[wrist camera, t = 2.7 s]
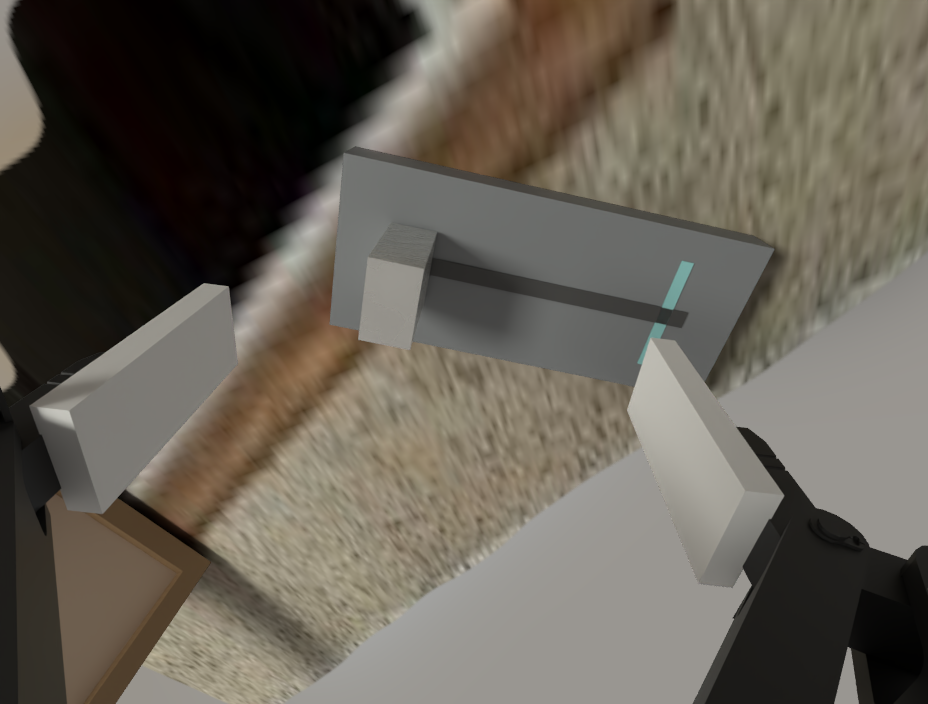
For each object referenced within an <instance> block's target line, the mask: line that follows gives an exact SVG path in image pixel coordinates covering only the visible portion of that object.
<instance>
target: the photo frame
mask: <svg viewBox="0 0 928 704" xmlns="http://www.w3.org/2000/svg"><path fill="white" fill-rule="evenodd" d="M46 505H47V507H48V510H49V512H50V515H51V526H52V537H53V549H54V560H55V572H56V583H57V594H58V606H59V617H60V629H61V640H62V652H63V663H64V674H65V686H66V697H67V704H116V702H117V701H118V699H119V698H120V696H121V695H122V693H123V692H124V690H125V689H126V687H127V686H128V684H129V683H130V681H131V680H132V679H133V677H134V676H135V674H136V673H137V671H138V669H139V668H140V667H141V665H142V664H143V662H144V661H145V659H146V658H147V656H148V655H149V653H150V652H151V650H152V649H153V647H154V646H155V644H156V643H157V642H158V640H159V639H160V637H161V636H162V634H163V633H164V631H165V630H166V628H167V627H168V625H169V624H170V622H171V621H172V619H173V618H174V616H175V615H176V613H177V612H178V610H179V609H180V607H181V606H182V605H183V603H184V602H185V600H186V599H187V597H188V596H189V594H190V593H191V591H192V590H193V588H194V587H195V585H196V584H197V582H198V581H199V579H200V578H201V576H202V575H203V573H204V572H205V570H206V569H207V568H208V566H209V565H210V563H211V562H210V561H209V560H207V559H206V558H204V557H203V556H201V555H200V554H198V553H197V552H195V551H194V550H193V549H191V548H190V547H188V546H187V545H185V544H184V543H182V542H181V541H179V540H178V539H177V538H175V537H174V536H172V535H171V534H169V533H168V532H166V531H165V530H163V529H162V528H161V527H159V526H158V525H156V524H155V523H153V522H152V521H150V520H149V519H147V518H146V517H144V516H143V515H142V514H140V513H139V512H137V511H136V510H134V509H133V508H131V507H130V506H128V505H127V504H126V503H124V502H123V501H121V500H120V499H118V498H117V499H116V500H115V501H114V502H113V503H112V504H111V505H110V507H109V508H108V509H107V510H106V511H105V512H104V513H103V514H97V513H88V512H80V511H71V510H67V507H66V505H65V502H64V499H63V497H62V494H61V491H60V490H59V491H58V492H57V493H56V494H55V495H54V496H53V497H52V498H51V499H50V500H49V501H48V502H46Z"/></svg>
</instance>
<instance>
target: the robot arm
mask: <svg viewBox="0 0 928 704" xmlns="http://www.w3.org/2000/svg"><path fill="white" fill-rule="evenodd" d="M237 364H238V360H237V351H236V343H235V335H234V327H233V319H232V310H231V302H230V294H229V286H221V285H212V284H202V285H201V286H199V287H198V288H197V289H195V290H194V291H192V292H191V293H189V294H188V295H187V296H185V297H184V298H182V299H181V300H180V301H178V302H177V303H175V304H174V305H172V306H171V307H170V308H168V309H167V310H165V311H164V312H162V313H161V314H160V315H158V316H157V317H155V318H154V319H152V320H151V321H150V322H148V323H147V324H145V325H144V326H142V327H141V328H140V329H138V330H137V331H135V332H134V333H133V334H131V335H130V336H128V337H127V338H125V339H124V340H123V341H121V342H120V343H118V344H117V345H115V346H114V347H113V348H111V349H110V350H108V351H107V352H105V353H103V352H100V353H97V354H95V355H92V356H90V357H87V358H84V359H82V360H79V361H77V362H76V363H74V364H73V365H71V366H70V367H68V368H67V369H65V370H64V371H63V372H61V375H57V376H55V377H54V378H52V379H51V380H49V381H48V383H47V384H43V385H42V386H40V387H39V388H37V389H36V390H34V391H33V392H31V393H30V394H29V395H27V396H26V397H24V398H23V399H21V400H20V401H18V402H17V403H15V404H14V405H12V406H11V407H9V408H8V405H7V403H6V400H5V398H4V395H3V393H2V390H1V388H0V704H67V697H66V686H65V674H64V663H63V652H62V640H61V629H60V617H59V606H58V594H57V583H56V572H55V560H54V549H53V537H52V526H51V515H50V512H49V510H48V507H47V505H46V502H48V501H49V500H50V499H51V498H52V497H53V496H54V495H55V494H56V493H57V492H58V491H59V490H60V491H61V494H62V497H63V499H64V502H65V505H66V507H67V510H71V511H80V512H88V513H97V514H103V513H104V512H105V511H106V510H107V509H108V508H109V507H110V505H111V504H112V503H113V502H114V501H115V500H116V499H117V498H118V497H119V495H120V494H121V493H122V492H123V491H124V490H125V489H126V488H127V487H128V485H129V484H130V483H131V482H132V481H133V480H134V479H135V478H136V477H137V475H138V474H139V473H140V472H141V471H142V470H143V469H144V468H145V466H146V465H147V464H148V463H149V462H150V461H151V460H152V459H153V458H154V456H155V455H156V454H157V453H158V452H159V451H160V450H161V449H162V448H163V446H164V445H165V444H166V443H167V442H168V441H169V440H170V439H171V438H172V436H173V435H174V434H175V433H176V432H177V431H178V430H179V429H180V428H181V426H182V425H183V424H184V423H185V422H186V421H187V420H188V419H189V418H190V416H191V415H192V414H193V413H194V412H195V411H196V410H197V409H198V408H199V406H200V405H201V404H202V403H203V402H204V401H205V400H206V399H207V398H208V396H209V395H210V394H211V393H212V392H213V391H214V390H215V389H216V388H217V386H218V385H219V384H220V383H221V382H222V381H223V380H224V379H225V378H226V376H227V375H228V374H229V373H230V372H231V371H232V370H233V369H234V368H235V366H236V365H237ZM627 411H628V413H629V416H630V418H631V421H632V423H633V426H634V428H635V430H636V433H637V435H638V438H639V440H640V443H641V445H642V448H643V450H644V452H645V455H646V457H647V460H648V462H649V464H650V467H651V469H652V472H653V474H654V476H655V479H656V481H657V484H658V487H659V489H660V491H661V494H662V496H663V499H664V501H665V504H666V506H667V508H668V511H669V513H670V516H671V518H672V521H673V523H674V526H675V528H676V530H677V533H678V535H679V538H680V540H681V543H682V545H683V547H684V550H685V552H686V554H687V557H688V560H689V562H690V564H691V567H692V569H693V572H694V574H695V577H696V579H697V581H698V584H706V585H714V586H722V587H731V588H733V586H734V585H735V583H736V581H737V579H738V577H739V576H740V574H741V572H742V570H743V569H744V571H745V573H746V575H747V577H748V579H749V581H750V582H751V584H752V586H751V588H750V589H749V591H748V593H747V595H746V596H745V598H744V600H743V601H742V603H741V605H740V606H739V608H738V610H737V612H736V613H735V615H734V617H733V618H734V621H733V623H732V625H731V627H730V629H729V631H728V633H727V635H726V637H725V639H724V641H723V643H722V645H721V648H720V650H719V651H718V653H717V656H716V658H715V660H714V662H713V664H712V666H711V668H710V670H709V672H708V674H707V676H706V678H705V680H704V682H703V684H702V686H701V688H700V690H699V692H698V695H697V696H696V698H695V700H694V702H693V704H834V701H835V697H836V693H837V689H838V685H839V680H840V676H841V672H842V668H843V664H844V660H845V656H846V651H847V647H849V648H851V651H852V659H853V665H854V672H855V679H856V686H857V693H858V700H859V704H928V546H921V547H920V548H918V549H916V550H915V552H914V553H913V554H912V555H911V557H910V558H909V559H908V560H906V559H903V558H900V557H897V556H894V555H891V554H888V553H885V552H882V551H879V550H876V549H873V548H870V547H869V544H868V542H867V541H866V539H865V538H864V536H863V535H862V534H861V533H860V532H859V531H858V530H857V529H855V527H853V526H852V525H851V524H850V523H848V522H846V521H845V520H843V519H842V518H840V517H838V516H837V515H834V514H832V513H830V512H827V511H824V510H821V509H817V508H815V507H814V505H813V504H812V503H811V501H810V500H809V499H808V497H807V496H806V495H805V493H804V492H803V491H802V489H801V488H800V487H799V485H798V484H797V483H796V481H795V480H794V479H793V477H792V476H791V475H790V474H789V472H788V471H785V467H784V466H783V464H782V463H781V462H780V460H779V459H776V455H775V454H774V452H773V451H772V450H771V448H770V447H769V446H768V444H767V443H766V442H765V441H764V440H763V439H761V438H760V437H759V436H757V435H756V434H755V433H754V432H752V431H751V430H749V429H748V428H741V427H736V426H735V425H734V423H733V422H732V421H731V419H730V418H729V416H728V415H727V413H726V412H725V411H724V409H723V408H722V407H721V405H720V404H719V402H718V401H717V399H716V398H715V396H714V395H713V394H712V392H711V391H710V389H709V388H708V386H707V385H706V384H705V382H704V381H703V379H702V378H701V377H700V375H699V374H698V372H697V371H696V369H695V368H694V367H693V365H692V364H691V362H690V361H689V360H688V358H687V357H686V355H685V354H684V352H683V351H682V350H681V348H680V347H679V345H678V344H677V342H676V341H675V340H667V339H659V338H650V341H649V344H648V347H647V350H646V353H645V357H644V360H643V363H642V366H641V369H640V372H639V375H638V378H637V381H636V384H635V388H634V391H633V394H632V397H631V400H630V403H629V406H628V409H627Z"/></svg>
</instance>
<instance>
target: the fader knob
mask: <svg viewBox="0 0 928 704" xmlns="http://www.w3.org/2000/svg"><path fill="white" fill-rule="evenodd" d="M436 235H437V232H434V231H429V230H425V229H420V228H415V227H411V226H406V225H402V224H397V223H392V222H391V224H390V225H389V227H388V228H387V229H386V231H385V232H384V234H383V235H382V237H381V238H380V240H379V241H378V243H377V244H376V246H375V247H374V249H373V250H372V252H371V253H370V255H369V256H368V260H367V268H366V277H365V286H364V294H363V303H362V312H361V321H360V329H359V338H358V340H362V341H367V342H372V343H377V344H382V345H387V346H392V347H397V348H402V349H407V350H410V349H411V345H412V342H413V339H414V335H415V332H416V328H417V325H418V322H419V318H420V315H421V312H422V308H423V305H424V302H425V296H426V291H427V285H428V280H429V274H430V269H431V263H432V257H433V252H434V246H435V241H436Z"/></svg>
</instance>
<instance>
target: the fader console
mask: <svg viewBox="0 0 928 704" xmlns="http://www.w3.org/2000/svg"><path fill="white" fill-rule="evenodd" d="M391 222H392V223H397V224H402V225H406V226H411V227H415V228H420V229H425V230H429V231H434V232H437V235H436V241H435V246H434V252H433V257H432V263H431V269H430V274H429V280H428V285H427V291H426V296H425V302H424V305H423V308H422V312H421V315H420V318H419V322H418V325H417V328H416V332H415V335H414V339H413V342H418V343H423V344H428V345H433V346H438V347H443V348H448V349H452V350H457V351H462V352H467V353H472V354H477V355H482V356H487V357H492V358H497V359H501V360H506V361H511V362H516V363H521V364H526V365H531V366H536V367H541V368H546V369H550V370H555V371H560V372H565V373H570V374H575V375H580V376H585V377H590V378H595V379H599V380H604V381H609V382H614V383H619V384H624V385H629V386H634V387H635V384H636V381H637V378H638V375H639V372H640V369H641V366H642V363H643V360H644V357H645V353H646V350H647V347H648V344H649V341H650V338H659V339H667V340H675V341H676V342H677V344H678V345H679V347H680V348H681V350H682V351H683V352H684V354H685V355H686V357H687V358H688V360H689V361H690V362H691V364H692V365H693V367H694V368H695V369H696V371H697V372H698V374H699V375H700V377H701V378H702V379H703V381H704V382H705V381H706V379H707V377H708V375H709V373H710V371H711V369H712V367H713V365H714V363H715V362H716V360H717V358H718V356H719V354H720V352H721V350H722V348H723V346H724V344H725V343H726V341H727V339H728V337H729V335H730V333H731V331H732V329H733V327H734V325H735V324H736V322H737V320H738V318H739V316H740V314H741V312H742V310H743V308H744V306H745V305H746V303H747V301H748V299H749V297H750V295H751V293H752V291H753V289H754V287H755V285H756V284H757V282H758V280H759V278H760V276H761V274H762V272H763V270H764V268H765V266H766V265H767V263H768V261H769V259H770V257H771V255H772V253H773V251H774V248H772V247H771V246H769V245H768V244H766V243H764V242H763V241H761V240H760V239H758V238H756V237H755V236H752V235H748V234H744V233H739V232H735V231H730V230H726V229H721V228H717V227H712V226H708V225H703V224H699V223H694V222H690V221H686V220H681V219H677V218H672V217H668V216H663V215H659V214H654V213H650V212H645V211H641V210H636V209H632V208H628V207H623V206H619V205H614V204H610V203H605V202H601V201H596V200H592V199H587V198H583V197H579V196H574V195H570V194H565V193H561V192H556V191H552V190H547V189H543V188H538V187H534V186H529V185H525V184H521V183H516V182H512V181H507V180H503V179H498V178H494V177H489V176H485V175H480V174H476V173H471V172H467V171H463V170H458V169H454V168H449V167H445V166H440V165H436V164H431V163H427V162H422V161H418V160H414V159H409V158H405V157H400V156H396V155H391V154H387V153H382V152H378V151H373V150H369V149H364V148H360V147H356V146H355V147H353V148H352V149H350V150H348V151H346V152H344V156H343V168H342V180H341V192H340V205H339V217H338V229H337V241H336V254H335V266H334V278H333V290H332V303H331V315H330V325H335V326H340V327H345V328H350V329H354V330H359V329H360V321H361V312H362V303H363V294H364V286H365V277H366V268H367V260H368V256H369V255H370V253H371V252H372V250H373V249H374V247H375V246H376V244H377V243H378V241H379V240H380V238H381V237H382V235H383V234H384V232H385V231H386V229H387V228H388V227H389V225H390V224H391Z"/></svg>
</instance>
